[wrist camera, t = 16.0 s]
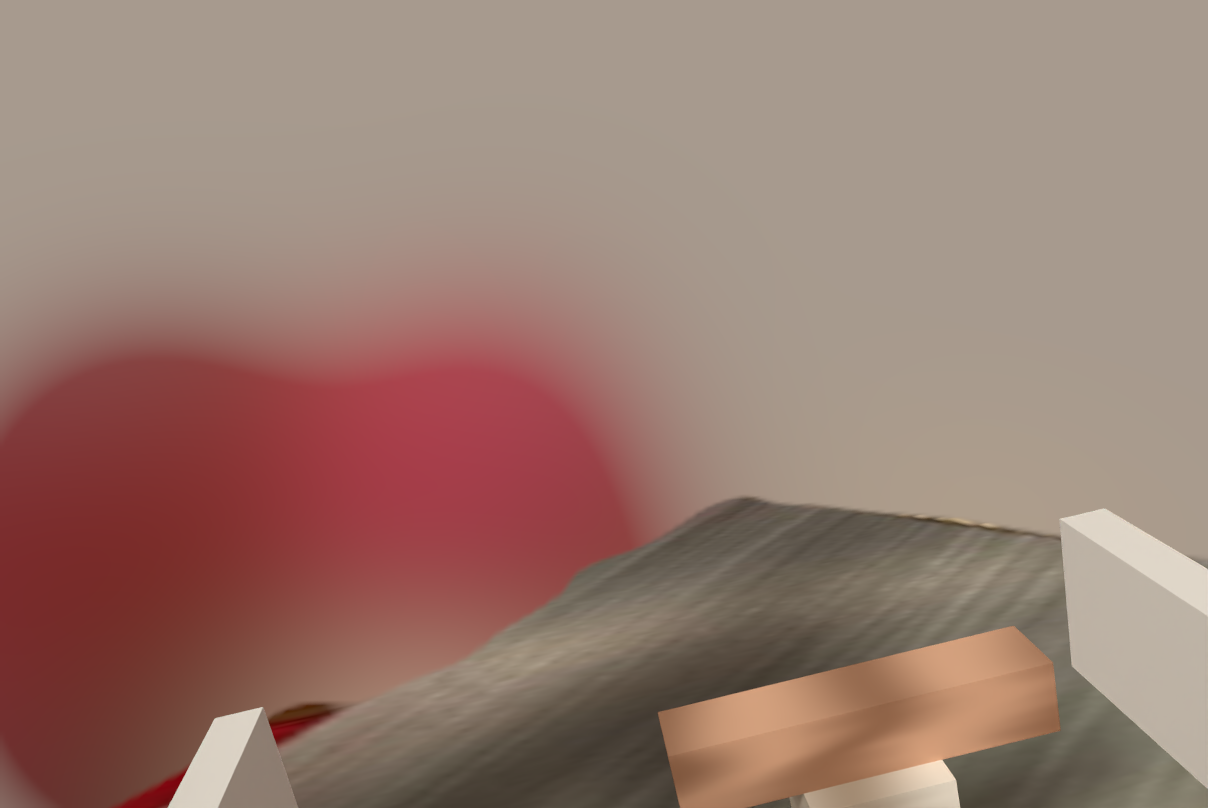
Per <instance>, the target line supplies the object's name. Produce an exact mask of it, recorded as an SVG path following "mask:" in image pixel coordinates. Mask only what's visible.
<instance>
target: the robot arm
mask: <svg viewBox="0 0 1208 808" xmlns="http://www.w3.org/2000/svg"><path fill="white" fill-rule="evenodd" d="M1060 529H1061V541H1062V553H1063V565H1064V577H1065V589H1066V601H1067V613H1068V625H1069V637H1070V649H1071V661H1072V667H1073V668H1075V669H1076V670H1077V671H1078V672H1079V673H1080V674H1081V675H1082V676H1083V677H1084V678H1086V679H1087V680H1088V681H1089V682H1090V683H1091V684H1092V685H1093V686H1094V687H1096V688H1097V689H1098V690H1099V691H1100V692H1101V693H1102V694H1103V695H1104V696H1105V697H1107V698H1108V699H1109V700H1110V701H1111V702H1112V703H1113V704H1114V705H1115V706H1117V707H1118V708H1119V709H1120V710H1121V711H1122V712H1123V713H1124V714H1125V715H1126V716H1128V717H1129V718H1130V719H1131V720H1132V721H1133V722H1134V723H1135V724H1136V725H1138V726H1139V727H1140V728H1141V729H1142V730H1143V731H1144V732H1145V733H1146V734H1148V735H1149V736H1150V737H1151V738H1152V739H1153V740H1154V741H1155V742H1156V743H1157V744H1159V745H1160V746H1161V747H1162V748H1163V749H1164V750H1165V751H1166V752H1167V753H1169V754H1170V755H1171V756H1172V757H1173V758H1174V759H1175V760H1176V761H1177V762H1178V763H1180V764H1181V765H1182V766H1183V767H1184V768H1185V769H1186V770H1187V771H1188V772H1190V773H1191V774H1192V775H1193V776H1194V777H1195V778H1196V779H1197V780H1198V781H1199V782H1201V783H1202V784H1203V785H1204V786H1205V787H1206V788H1207V789H1208V569H1207V568H1205V567H1203V566H1201V565H1200V564H1198V563H1196V562H1195V561H1193V560H1191V559H1190V558H1188V557H1186V556H1184V555H1183V554H1181V553H1179V552H1178V551H1176V550H1174V549H1173V548H1171V547H1169V546H1168V545H1166V544H1164V543H1162V542H1161V541H1159V540H1157V539H1156V538H1154V537H1152V536H1150V535H1149V534H1147V533H1145V532H1144V531H1142V530H1140V529H1139V528H1137V527H1135V526H1133V525H1132V524H1130V523H1128V522H1127V521H1125V520H1123V519H1122V518H1120V517H1118V516H1117V515H1115V514H1113V513H1111V512H1110V511H1108V510H1106V509H1100V510H1096V511H1092V512H1088V513H1083V514H1079V515H1075V516H1070V517H1066V518H1062V519H1060ZM168 808H298V806H297V803H296V800H295V797H294V794H293V792H292V789H291V786H290V783H289V780H288V777H287V774H286V771H285V769H284V766H283V763H282V760H281V757H280V754H279V751H278V748H277V746H276V743H275V740H274V737H273V734H272V731H271V728H270V725H269V723H268V720H267V717H266V714H265V711H264V708H263V707H262V708H258V709H253V710H249V711H244V712H240V713H236V714H232V715H227V716H224V717H219V718H215V719H214V721H213V723H212V725H211V727H210V729H209V731H208V733H207V734H206V737H205V738H204V740H203V742H202V744H201V746H200V748H199V750H198V751H197V753H196V755H195V757H194V759H193V761H192V763H191V765H190V767H189V769H188V770H187V772H186V774H185V776H184V778H183V780H182V782H181V784H180V786H179V787H178V789H177V791H176V793H175V795H174V797H173V799H172V801H171V803H170V805H169V806H168Z"/></svg>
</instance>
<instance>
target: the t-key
mask: <svg viewBox="0 0 1208 808" xmlns="http://www.w3.org/2000/svg"><path fill="white" fill-rule="evenodd" d="M658 716H659V720H660V725H661V729H662V733H663V737H664V742H665V746H666V750H667V754H668V759H669V763H670V767H671V771H672V775H673V780H674V784H675V788H676V792H677V797H678V801H679V805H680V808H747V807H752V806H756V805H760V804H764V803H768V802H772V801H776V800H780V799H784V798H788V797H789V798H790V803H791V808H960V803H959V796H958V790H957V783H956V779H955V778H954V776H953V775H952V773H951V772H950V771H949V769H948V768H947V766H946V765H945V763H944V762H943V761H942V760H943V759H947V758H951V757H955V756H959V755H963V754H967V753H971V752H975V751H979V750H983V749H988V748H992V747H996V746H1000V745H1004V744H1008V743H1012V742H1016V741H1020V740H1024V739H1028V738H1032V737H1036V736H1040V735H1045V734H1049V733H1053V732H1057V731H1061V730H1060V721H1059V712H1058V704H1057V695H1056V686H1055V677H1054V668H1053V662H1052V661H1051V660H1050V659H1048V658H1047V657H1046V656H1045V655H1044V654H1043V653H1042V652H1041V651H1040V650H1039V649H1038V648H1037V647H1036V646H1035V645H1034V644H1032V643H1031V642H1030V641H1029V640H1028V639H1027V638H1026V637H1025V636H1024V635H1023V634H1022V633H1021V632H1020V631H1019V630H1018V629H1017V628H1015V627H1014V626H1011V627H1007V628H1002V629H998V630H994V631H990V632H986V633H982V634H978V635H974V636H970V637H965V638H961V639H957V640H953V641H949V642H945V643H941V644H937V645H933V646H928V647H924V648H920V649H916V650H912V651H908V652H904V653H900V654H896V655H891V656H887V657H883V658H879V659H875V660H871V661H867V662H863V663H859V664H854V665H850V666H846V667H842V668H838V669H834V670H830V671H826V672H822V673H817V674H813V675H809V676H805V677H801V678H797V679H793V680H789V681H785V682H780V683H776V684H772V685H768V686H764V687H760V688H756V689H752V690H748V691H743V692H739V693H735V694H731V695H727V696H723V697H719V698H715V699H711V700H706V701H702V702H698V703H694V704H690V705H686V706H682V707H678V708H674V709H669V710H665V711H661V712H658Z"/></svg>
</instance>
